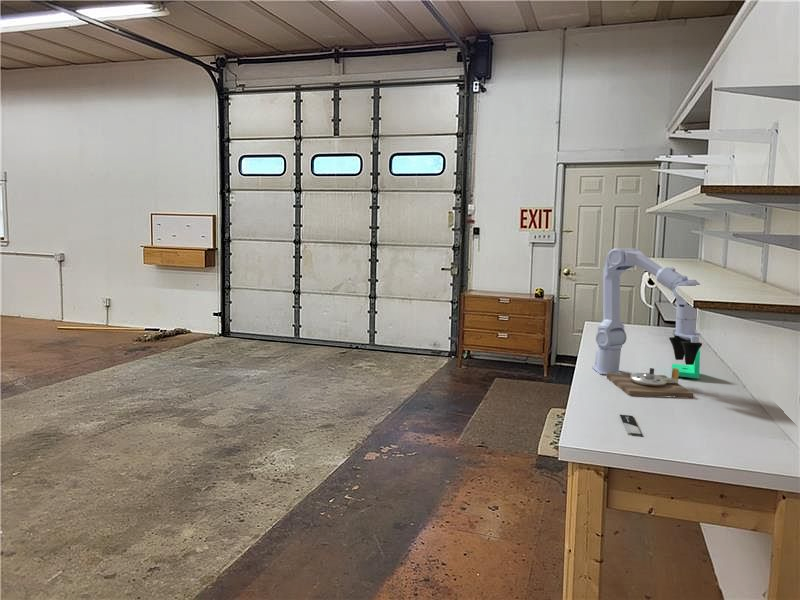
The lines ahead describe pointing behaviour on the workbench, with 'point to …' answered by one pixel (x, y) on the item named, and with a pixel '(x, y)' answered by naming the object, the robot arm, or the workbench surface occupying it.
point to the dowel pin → (651, 371)
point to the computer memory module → (631, 425)
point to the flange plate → (654, 378)
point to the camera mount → (689, 368)
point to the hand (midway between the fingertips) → (684, 362)
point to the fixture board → (648, 387)
